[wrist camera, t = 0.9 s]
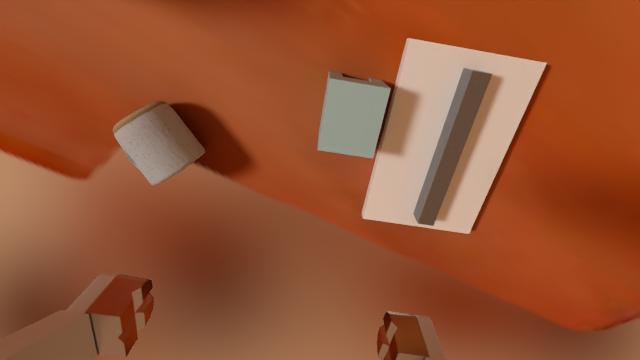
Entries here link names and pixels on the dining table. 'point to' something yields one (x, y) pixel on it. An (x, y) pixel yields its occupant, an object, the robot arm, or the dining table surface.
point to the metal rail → (451, 143)
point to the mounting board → (426, 126)
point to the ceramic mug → (157, 141)
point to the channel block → (352, 115)
